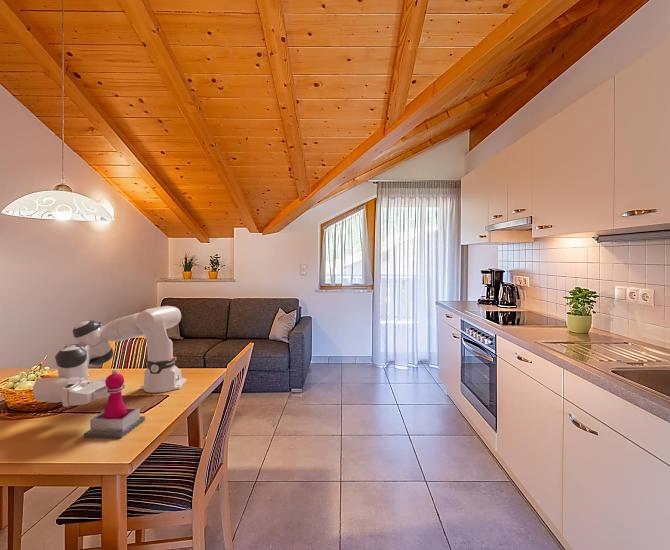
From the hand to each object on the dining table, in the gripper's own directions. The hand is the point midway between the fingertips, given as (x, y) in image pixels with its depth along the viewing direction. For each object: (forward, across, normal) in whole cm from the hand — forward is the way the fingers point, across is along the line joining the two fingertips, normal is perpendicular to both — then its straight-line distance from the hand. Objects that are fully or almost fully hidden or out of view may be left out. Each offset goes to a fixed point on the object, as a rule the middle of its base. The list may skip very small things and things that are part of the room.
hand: (116, 390), depth 146 cm
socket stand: (0, 0, -14) cm, 14 cm away
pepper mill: (-1, 0, -13) cm, 13 cm away
